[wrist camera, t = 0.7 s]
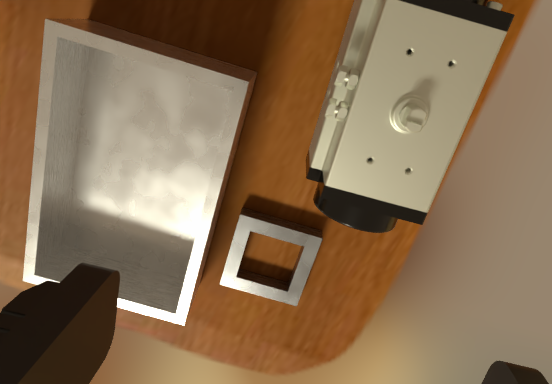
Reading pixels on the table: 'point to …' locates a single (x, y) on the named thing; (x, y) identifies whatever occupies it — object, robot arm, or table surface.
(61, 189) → the seat cradle
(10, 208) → the table surface
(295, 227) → the gray square frame
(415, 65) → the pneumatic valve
